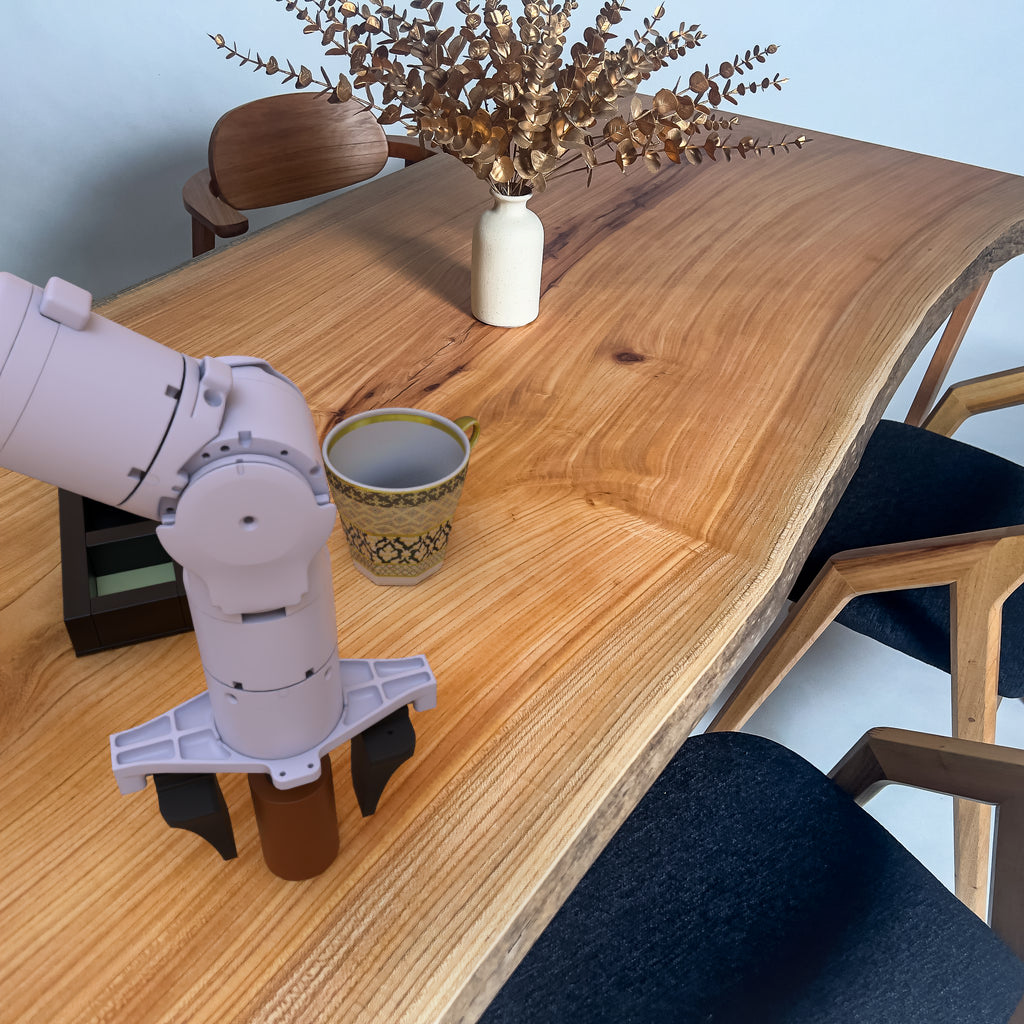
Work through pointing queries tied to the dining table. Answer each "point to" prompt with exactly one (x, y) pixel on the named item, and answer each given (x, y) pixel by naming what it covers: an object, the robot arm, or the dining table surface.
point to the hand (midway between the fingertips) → (297, 821)
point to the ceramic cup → (398, 488)
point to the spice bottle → (296, 824)
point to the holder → (116, 578)
